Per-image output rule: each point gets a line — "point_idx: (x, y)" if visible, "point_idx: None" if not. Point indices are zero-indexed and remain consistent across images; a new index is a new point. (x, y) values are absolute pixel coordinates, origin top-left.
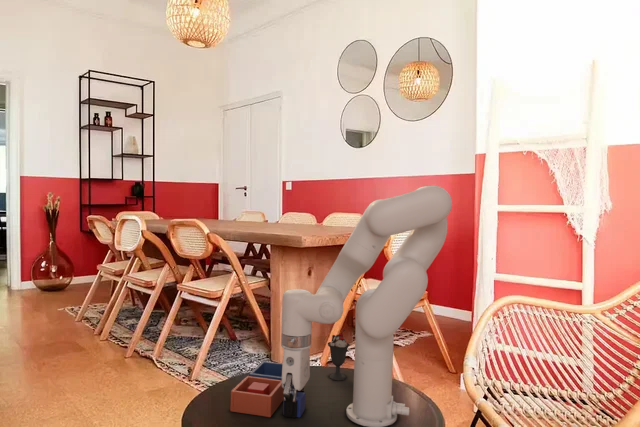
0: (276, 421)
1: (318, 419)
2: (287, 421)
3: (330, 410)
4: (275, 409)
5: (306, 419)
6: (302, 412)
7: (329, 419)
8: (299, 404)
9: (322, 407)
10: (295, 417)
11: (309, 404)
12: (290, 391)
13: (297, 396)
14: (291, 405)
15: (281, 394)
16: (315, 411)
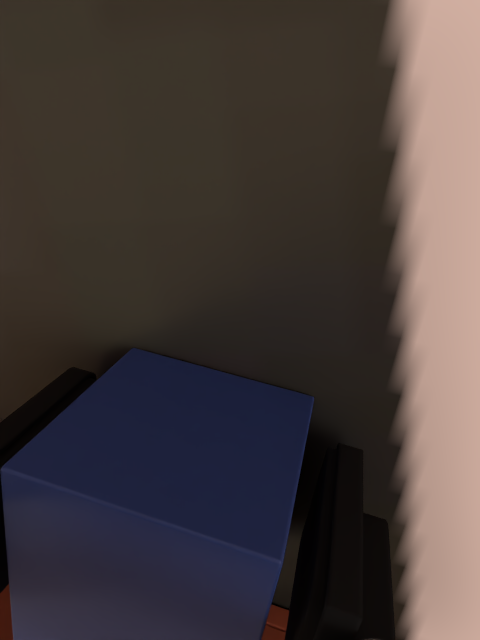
0: (411, 592)
1: (346, 180)
2: (410, 510)
3: (72, 25)
4: None
5: (355, 328)
6: (215, 374)
7: (336, 8)
8: (290, 509)
9: (27, 147)
10: (360, 452)
11: (8, 298)
12: (31, 633)
13: (164, 586)
14: (389, 634)
15: (9, 594)
16: (142, 228)
